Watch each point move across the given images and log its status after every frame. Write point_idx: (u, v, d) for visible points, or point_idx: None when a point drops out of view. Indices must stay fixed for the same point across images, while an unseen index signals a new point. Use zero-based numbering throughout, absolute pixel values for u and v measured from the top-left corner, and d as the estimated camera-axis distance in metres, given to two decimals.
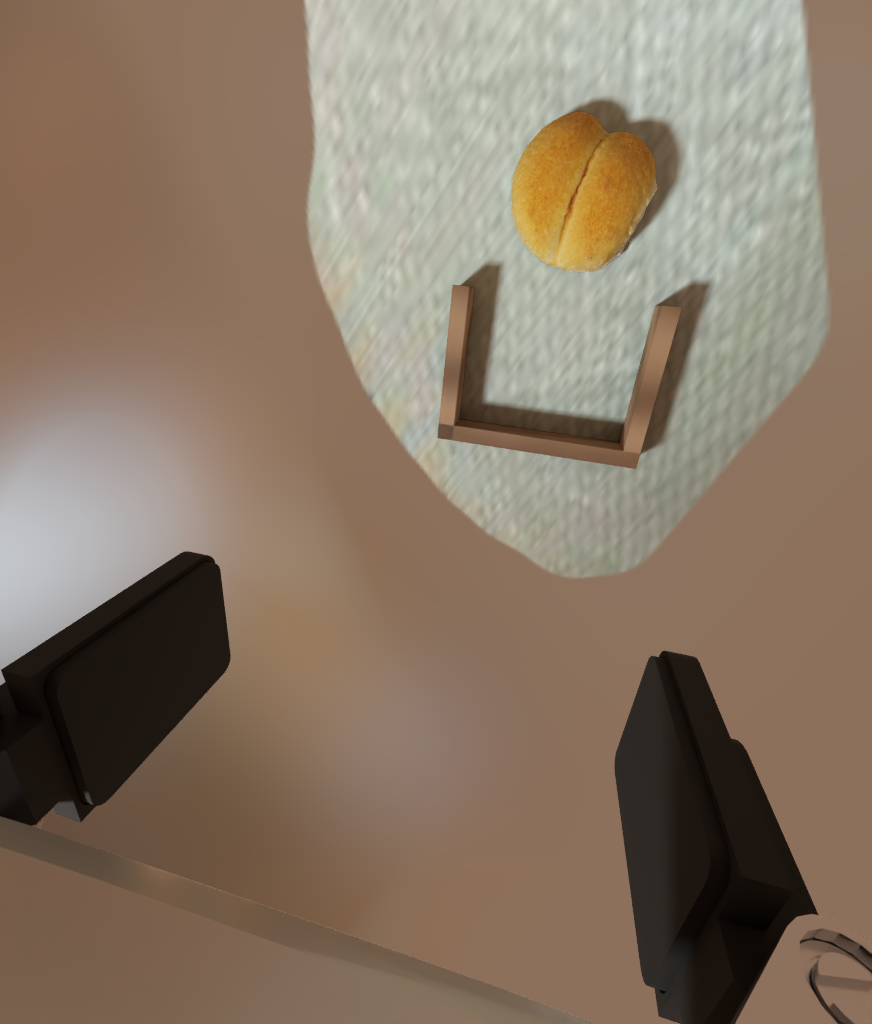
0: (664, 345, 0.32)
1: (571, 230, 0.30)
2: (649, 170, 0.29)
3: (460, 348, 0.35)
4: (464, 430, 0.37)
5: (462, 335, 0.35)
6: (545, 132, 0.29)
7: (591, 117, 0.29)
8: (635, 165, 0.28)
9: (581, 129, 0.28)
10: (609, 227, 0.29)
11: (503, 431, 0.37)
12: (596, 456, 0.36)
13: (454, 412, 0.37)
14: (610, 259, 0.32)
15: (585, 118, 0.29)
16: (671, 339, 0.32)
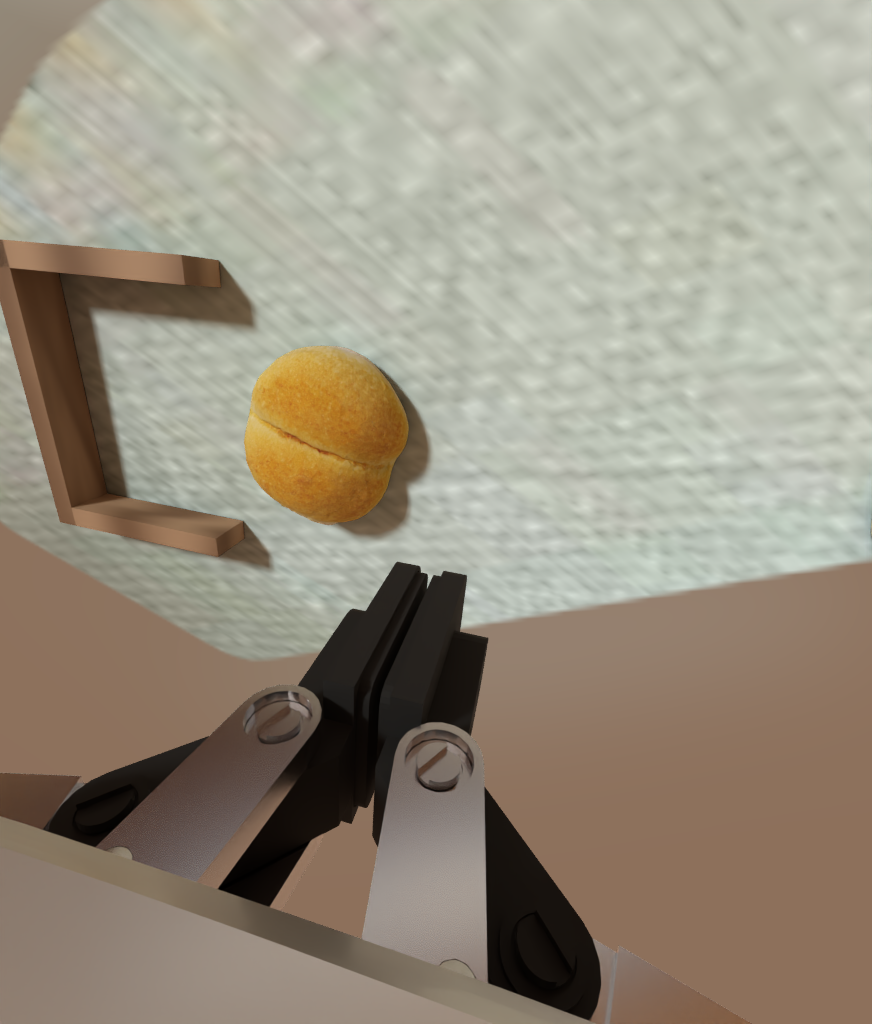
0: (181, 542, 0.27)
1: (266, 437, 0.23)
2: (336, 519, 0.24)
3: (107, 274, 0.22)
4: (10, 286, 0.24)
5: (123, 276, 0.22)
6: (368, 395, 0.21)
7: (391, 450, 0.23)
8: (332, 508, 0.23)
9: (367, 443, 0.22)
10: (267, 485, 0.23)
11: (41, 350, 0.25)
12: (54, 478, 0.28)
13: (26, 268, 0.23)
14: None
15: (387, 444, 0.22)
16: (188, 549, 0.27)
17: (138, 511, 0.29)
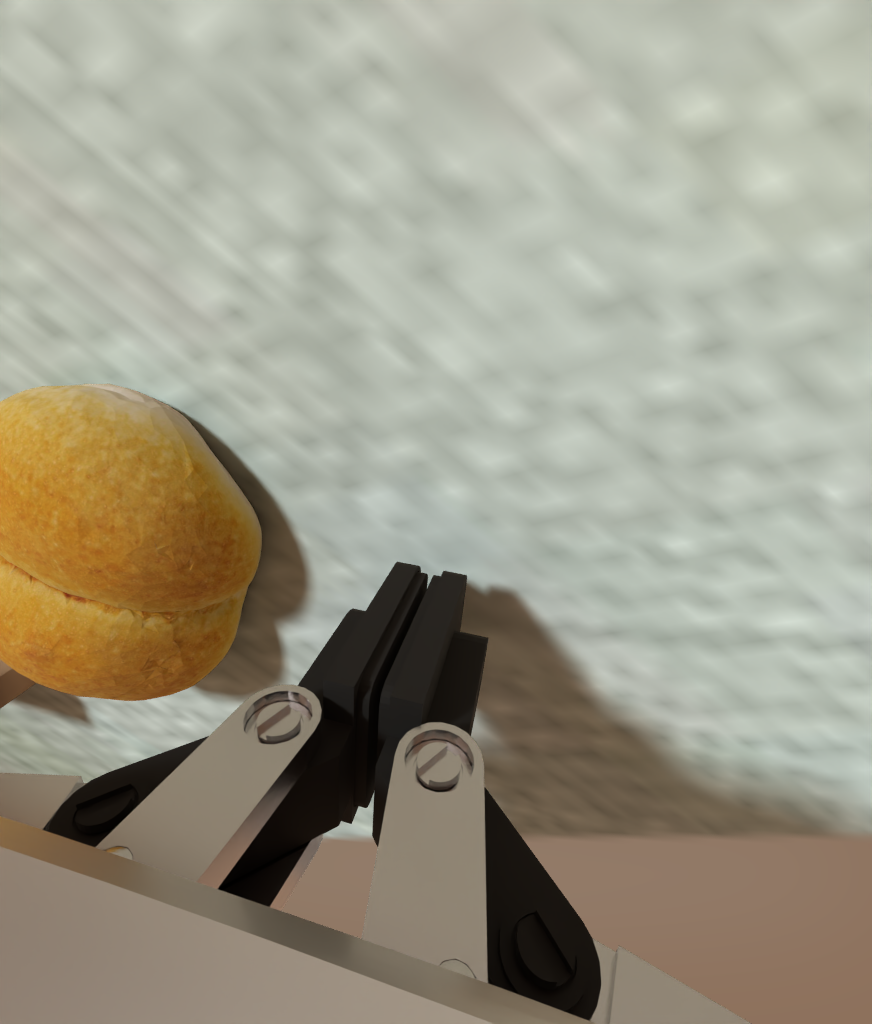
0: None
1: None
2: (137, 699, 0.13)
3: None
4: None
5: None
6: (145, 493, 0.10)
7: (217, 588, 0.12)
8: (114, 692, 0.12)
9: (154, 586, 0.11)
10: None
11: None
12: None
13: None
14: None
15: (202, 581, 0.11)
16: None
17: None
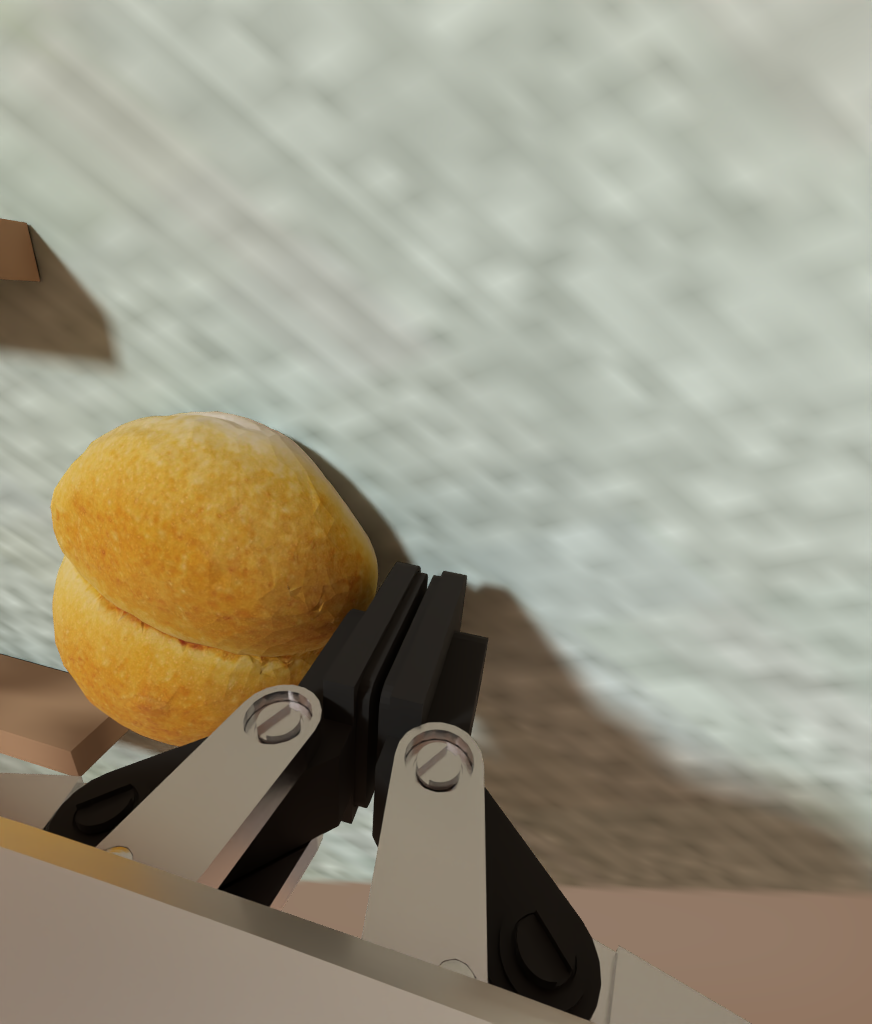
0: (12, 749, 0.15)
1: (79, 606, 0.11)
2: None
3: None
4: None
5: None
6: (277, 530, 0.09)
7: None
8: None
9: (283, 630, 0.10)
10: (89, 699, 0.11)
11: None
12: None
13: None
14: None
15: (329, 622, 0.10)
16: (26, 759, 0.15)
17: None
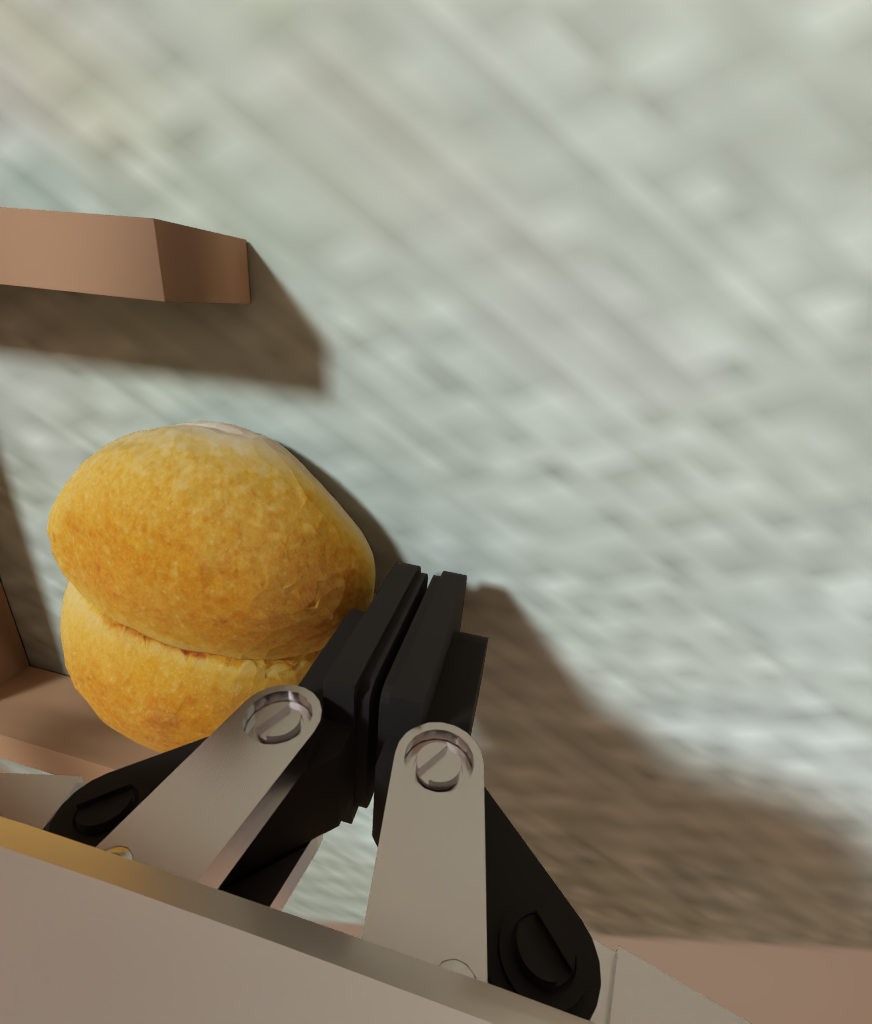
0: None
1: (83, 627, 0.11)
2: None
3: None
4: None
5: (3, 278, 0.08)
6: (265, 529, 0.09)
7: None
8: None
9: (281, 630, 0.10)
10: (102, 719, 0.11)
11: None
12: None
13: None
14: None
15: (328, 618, 0.10)
16: None
17: (82, 720, 0.15)
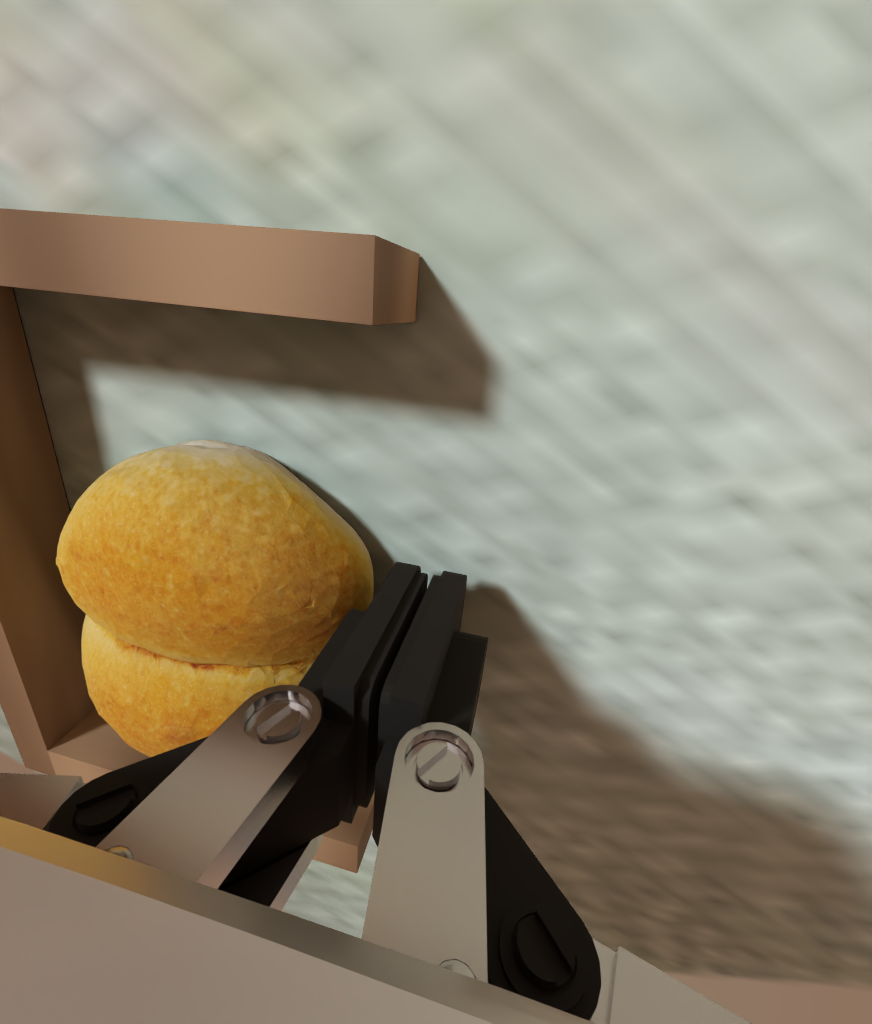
0: None
1: (100, 653, 0.11)
2: None
3: (137, 291, 0.08)
4: None
5: (184, 298, 0.08)
6: (252, 533, 0.09)
7: None
8: None
9: (280, 632, 0.10)
10: (126, 742, 0.12)
11: None
12: (10, 701, 0.14)
13: None
14: None
15: (327, 617, 0.10)
16: None
17: None
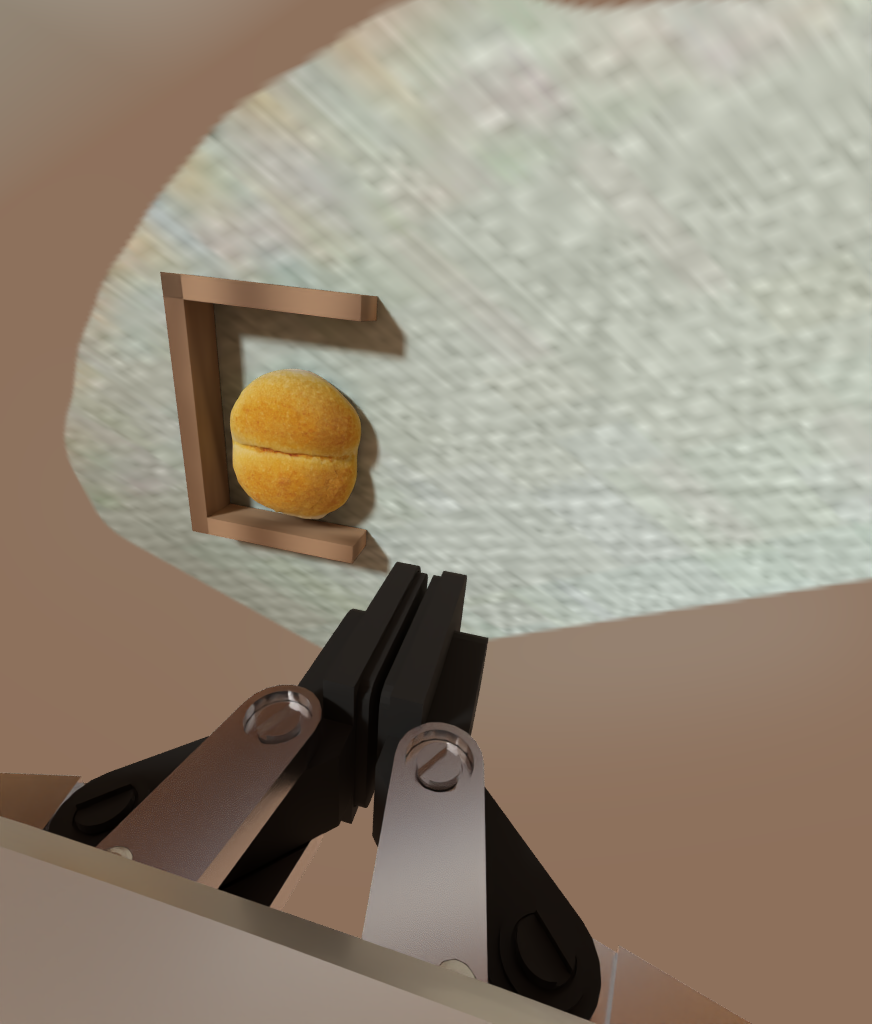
0: (316, 550, 0.30)
1: (247, 456, 0.28)
2: (321, 510, 0.29)
3: (284, 309, 0.24)
4: (181, 316, 0.26)
5: (299, 311, 0.24)
6: (316, 398, 0.26)
7: (348, 439, 0.27)
8: (313, 500, 0.28)
9: (326, 437, 0.26)
10: (257, 495, 0.28)
11: (197, 373, 0.27)
12: (193, 490, 0.30)
13: (200, 300, 0.25)
14: None
15: (342, 435, 0.27)
16: (322, 556, 0.30)
17: (269, 521, 0.31)
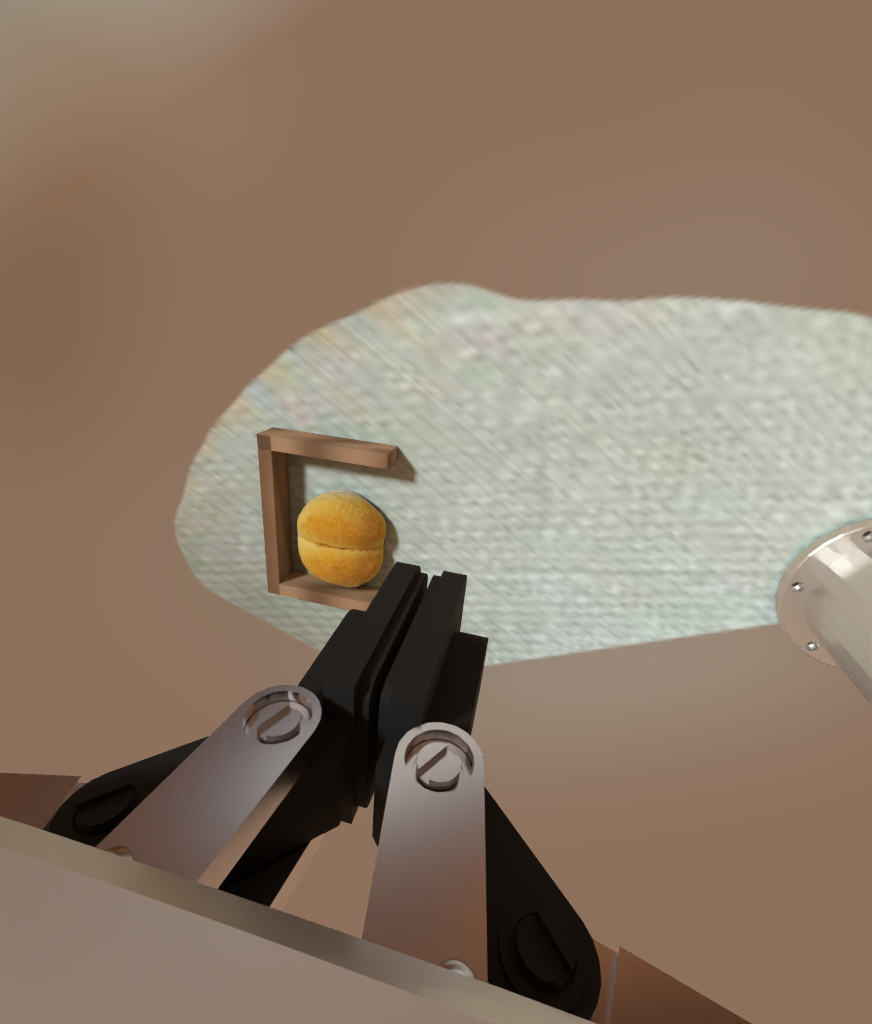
0: (355, 607, 0.43)
1: (310, 548, 0.41)
2: (359, 582, 0.42)
3: (337, 459, 0.38)
4: (268, 460, 0.39)
5: (347, 461, 0.37)
6: (357, 514, 0.39)
7: (378, 537, 0.40)
8: (355, 577, 0.41)
9: (364, 538, 0.40)
10: (317, 573, 0.41)
11: (276, 492, 0.41)
12: (270, 566, 0.43)
13: (282, 451, 0.39)
14: None
15: (374, 535, 0.40)
16: None
17: (321, 585, 0.44)
